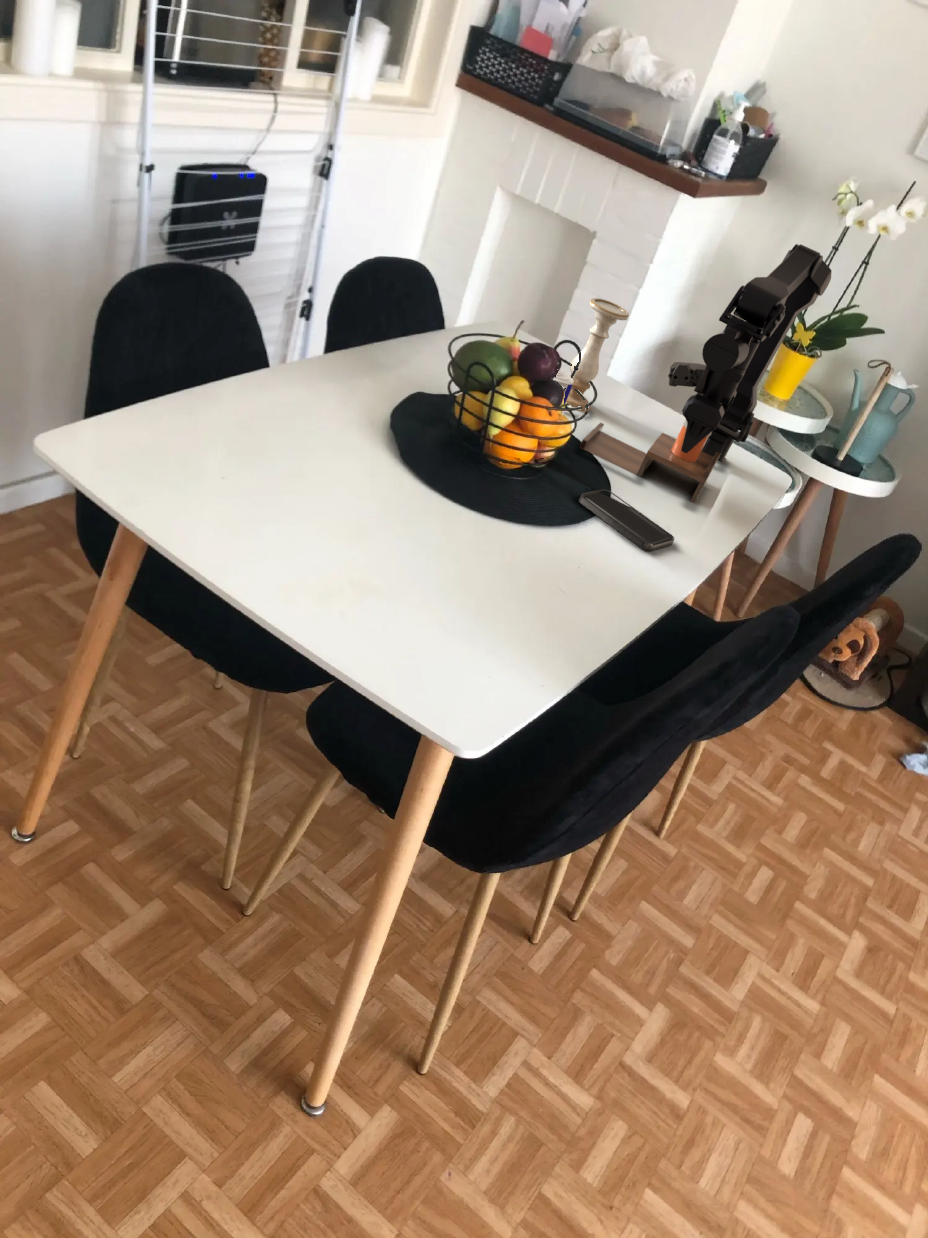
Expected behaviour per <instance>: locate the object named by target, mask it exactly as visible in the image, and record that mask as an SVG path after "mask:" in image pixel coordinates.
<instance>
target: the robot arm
mask: <svg viewBox="0 0 928 1238" xmlns="http://www.w3.org/2000/svg"><path fill="white" fill-rule="evenodd" d="M832 271H833V270H832V269H831V267H830V266H829V265H828V264H827V263H826V262H825V261H824V256H823V255H821V253H820V252H818V251H817V250H814V249H813V248H810V247H808V246H805V245H804V244H798V243H796V244H795V245H794V246H793V247H792V248H791V249H789V250H788V251H787V253H786V254H785V256H784V258H783V260H782V261H781V262H780V264H778V265H777V266H776V267H775V269H773V270H772V272H770V273H769V274H768V275H767V276H756V277H753V279H751V280H750V281H747V283H746V284H745V285H741V286H740V287H739V289H738V290H737V291H736V293H735V294H734V296H733V297H732V299H731V300H730V301H729V303H728V305H727V306H726V307H725V309H724V311H723V312H722V314H721V315H720V317H719V319H718V321H719V322H721V323H723V324H725V327H724V329H723V331H722V332H720V333H719V332H718V333H717V334H714V335H712V336H711V337H709V338H708V339H707V340H706V341H705V342H704V344H703V347H702V353H701V355H702V360H703V362H704V364H703V363H696V362H683V361H675V362H673V363H672V364H671V365H670V367H669V373H668V375H667V377H668V386H670V387H675V388H676V387H689V388H694V390H693V392H695V393H696V394H693V395H690V396H689V398H688V399H687V400H686V402H685V404H684V406H683V408H682V410H681V412H682V417H684V418H685V419H686V421H687V428H686V432H685V437H684V441H683V445H682V449H681V451H682V452H684V453H688V452H689V451H690V450H691V449H692V448H693V447H695V446H696V445H697V444H698V443H699V442H700V441H701V440H703V439H704V438H705V437H706V436H707V435H708V434H710V433H711V432H712V433H711V434H710V436H709V437H708V439H707V441H706V443H705V445H704V447H703V449H702V452H704V453H706V454H708V455H710V456H712V457H714V456H715V454H716V452H719V453H721V455H720V457H719V458H718V460H717V462H720V463H722V464H725V463H726V461H727V458H726V456H727V455H728V453H729V451H730V449H731V447H732V445H733V444H734V441H735V443H740V442H741V443H746V441H747V439H748V437H749V436H750V433H751V431H752V427H753V425H754V417H755V412H754V411H755V409H756V407H757V405H758V391H757V389H758V387H759V384H760V383H761V381H762V379H763V377H764V375H765V373H766V372H767V370H768V368H769V366H770V364H771V363H772V361H773V359H774V357H775V356H776V354H777V352H778V350H779V348H780V346H781V345H782V344H783V342H784V340H785V338H786V336H787V335H788V333H789V331H790V329H791V328H792V325H793V324H794V322H795V320H796V318H797V317H798V315H799V314H801V312H803V311H805V310H806V309H808V308H809V307H811V306H812V305H814V304H815V302H816V300H817V299H818V297H819V296H820V297H822V296H823V294H824V293H825V292H826V290H827V288H828V287H829V285H830V283H831V281H832Z"/></svg>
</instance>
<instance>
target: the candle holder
mask: <svg viewBox="0 0 928 1238" xmlns="http://www.w3.org/2000/svg"><path fill="white" fill-rule="evenodd" d="M589 306H590V307H591V308H592V309H593V310H594V311H595V312H594V317H595V324H594V325H593V326H591V327H590V328H589V330H588V331H589V332H590V335H589V337H588V339H587V342H586V343H585V346H584V347H583V349H581V351H580V352H581V363H580V364H579V369H578V370H577V371H576V373H575V375H574V377H573V378H572V379H573V380H574V383H573V384H572V389H571V391H570V393H569V396H568V398H567V401H566V402H567V403H568V404H569V405H571V406H572V407H578V406H581V407H582V409H581V410H576V411H577V412H585V413H586V412H589V411H591V406H590V407H589V408H588V410H585V405H586V404H587V403H589V400H588V399H587V398H586V397H585V400H583V399H582V398H581V396H580V395H579V394H577V392H576V391H575V390H574V389H577V390H579V391H580V392H581V393H582V394H583V395H584V394H585V392H587V390H589V389H590V388H591V383H590V382H592V381H593V380H595V379H596V378H597V376H598V375H599V370H600V353H601V349H602V346H603V344H604V342H605V340H606V339H609V338H610V334H609V331H610V328H611V327H612V326H613V325H615V324H616V323H617V321H627V320H629V317H630V313H629V312H628V310H627V309H626V308H624V307H622V306H621V305H619V304H617V303H614V302H612V301H611V300H607V299H604V298H599V297H593V298H591V299H590V301H589ZM578 362H579V353H578V354H577V355H576V356H575V357H574V358H573V359H572V360H571V361H570V365H571V364H572V366H569V371H570V375H569V376H570V377H571V375H572V373H573V371H574V366H576V365H577V363H578ZM589 404H590V403H589Z"/></svg>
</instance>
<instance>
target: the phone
mask: <svg viewBox="0 0 928 1238" xmlns="http://www.w3.org/2000/svg"><path fill="white" fill-rule="evenodd" d="M602 492H608V493H610V494H611V495H613V496H614V497H616V498H617V499H618V500H617V499H615V498H613V497H611V496H608V495H606V494H605V493H602ZM619 500H620V501H619ZM578 502H579V503H580V505H582V506H583V507H585V508H586V509H588V510H589V511H590V512H592V513H593V514H594V515H596V516H597V517H599V518H600V519H601V520H603V521H604V523H605V522H606V523H607V524H608V525H609V526H610V527H612V528H614V529H615V530H616V531H617V532H619V533H620V534H622V535H623V536H625V537H626V538H627V539H628V540H630V541H631V542H632V543H634V544H635V545H636V546H637V547H639V548H640V549H642V550H644V551H647V552H653V551H657V550H661V549H664V548H667V547H671V546H672V545H673V542H674V541H675V536H674V535H673V534H672V533H670V532H668V531H667V530H665V529H664V528H663V527H661V526H660V525H659V524H658V523H656V522H654V521H653V520H652V519H651V518H649V517H647V516H646V515H645V514H643V513H642V512H640V511H639V510H637V509H636V508H635V507H633V506H632V505H631V504H629V503H628V502H627V501H625V500H623V499H622V498H621V497H620V496H618V495H616V494H615V493H614V492H612V491H611V490H609V489H605V488H604V489H597V490H593V491H592V490H591V491H588V492H583V493H581V494H580V496H579V499H578Z"/></svg>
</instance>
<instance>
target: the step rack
mask: <svg viewBox="0 0 928 1238" xmlns="http://www.w3.org/2000/svg"><path fill="white" fill-rule="evenodd" d="M604 426H605V424H604V423H603V422H599V423H598V424H597V425H596V426H595V427H594V428H593V429H592V430H591V431H590V432H589V433H588V434H587V435H586V436H585V437H584V438H583V439H582V441H581V443H580V445H579V448H580V449H582V450H584V451H586V452H588V453H589V454H592V455H594V456H596V457H599V458H601V459H603V460H604V461H607V462H608V463H611V464H613V465H615V466H617V467H619V468H621V469H623V470H625V471H627V472H629V473H631V474H633V475H635V476H638V477H639V478H641V477H642V476H643V474H644V473H645V472H646V470H647V469H648V468H649V466H650V465H652V462H653V461H656V462H659V463H660V464H662V465H664V466H666V467H668V468H669V469H670V468H671V469H672V470H675V471H677V472H679V473H681V474H682V475H685V476H687V477H689V478H690V479H693V480H695V481H697V482H699V483H698V485H697V487H696V489H695V491H694V492H693V495H692V497H691V499H690V501H689V502H690V503H693V504H695V503H696V501H697V499H698V497H699V496H700V494H701V492H702V491H703V489H704V487H705V485H706V483H707V481H708V480H709V477H710V476H711V474H712V472H713V471H714V468H715V466H716V464H717V463H718V461H717V460H718V458H719V457H720V455H721V453H719V452H716V454H715V456H714V457H712V456H710V455H708V454H706V453H704V452H702V451H701V453H700V455H699V457H698V459H697V461H695V462H690V461H686V460H683V459H681V458H679V457H678V456H676V455H675V454H674V453H673V452H672V451H671V449H672V447H673V444H674V442H675V440H676V438H675V437H673V436H671V435H669V434H667V433H664V432H661V433H660V435H659V436H658V437H657V438H656V440H655V441H654V442H653V444H652V445H651V446H650V447H649V449H647V451H646V452H644V451H643V450H640V449H638V448H636V447H634V446H632V445H630V444H628V443H625V442H624V441H622V440H620V439H617V438H615V437H613V436H611V435H609V434H608V433H605V432H604V431H603V428H604Z"/></svg>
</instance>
